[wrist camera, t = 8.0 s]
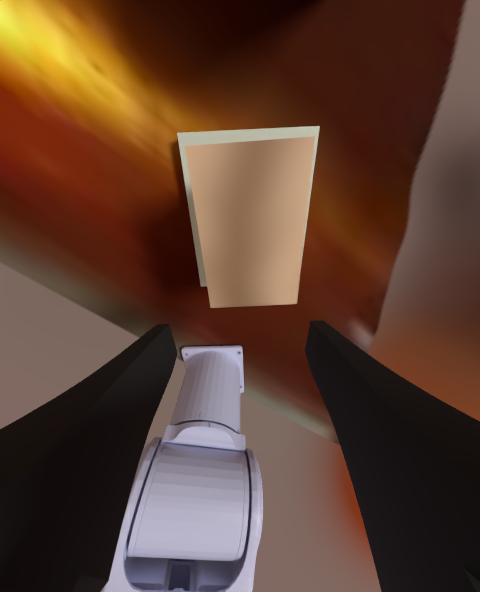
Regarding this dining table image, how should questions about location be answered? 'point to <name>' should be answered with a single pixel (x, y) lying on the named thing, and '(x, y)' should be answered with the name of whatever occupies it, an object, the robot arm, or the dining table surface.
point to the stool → (251, 217)
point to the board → (231, 137)
